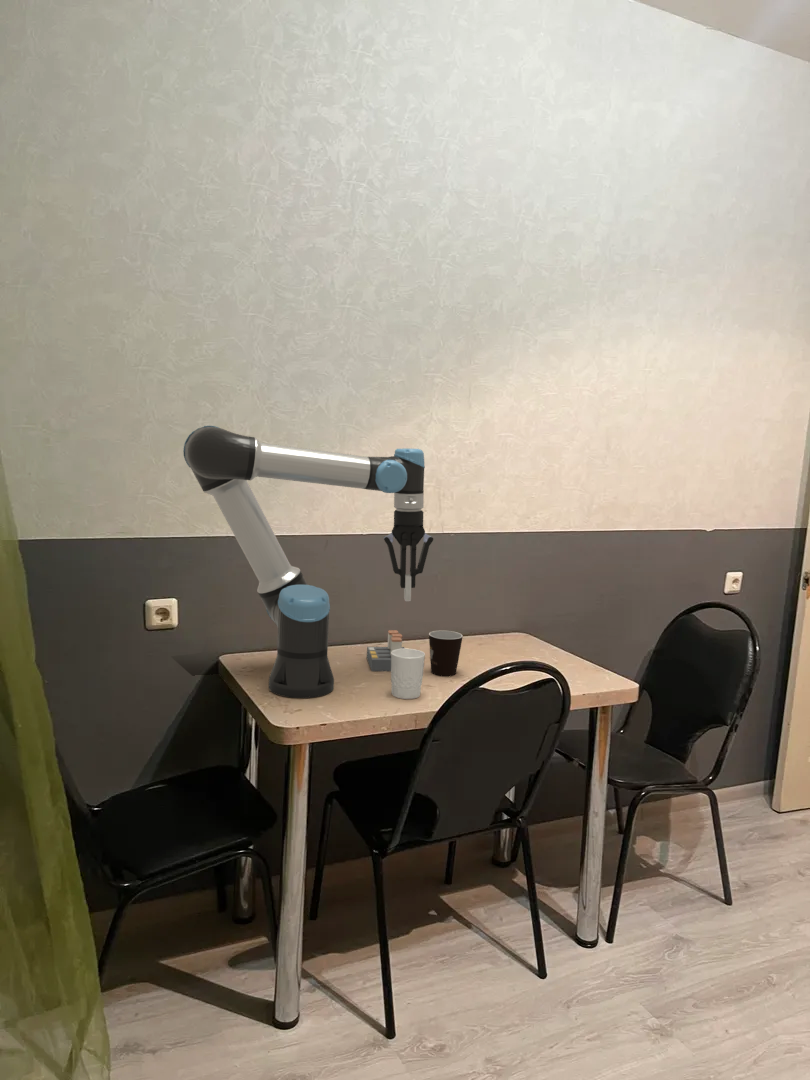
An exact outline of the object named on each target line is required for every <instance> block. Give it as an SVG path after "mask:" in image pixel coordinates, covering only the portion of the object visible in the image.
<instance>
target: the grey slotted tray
mask: <svg viewBox="0 0 810 1080" xmlns="http://www.w3.org/2000/svg"><path fill="white" fill-rule="evenodd" d="M403 648H405V646H402V649H403ZM366 659H367V662H368V665H369V668H370V670H371V672H391V655H390V649H388V647H387V646H366Z"/></svg>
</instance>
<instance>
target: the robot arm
mask: <svg viewBox="0 0 810 1080" xmlns="http://www.w3.org/2000/svg"><path fill="white" fill-rule="evenodd" d="M183 457H184V460H185V462H186V465H187V466H188V467H189V468H190V470H191V472H192V473H193V474H194V477H195V479H196V480H197V483H198V484H199V486H200V488H201V490H202V492H203V493H205V494H208V495H212V497H213V498H214V500H215V501H216V503H217V505H218V507H219V509H220V512H221V513H222V515H223V517H224V519H225V521H226V523H227V524H228V526H229V527H230V530H231V531H232V534H233V535H234V538H235V539H236V541H237V543H238V545H239V546H240V548H241V551H242V552H243V554H244V556H245V558H246V560H247V561H248V563H249V565H250V567H251V569H252V570H253V573H254V575H255V577H256V579H257V580H258V586H257V589H256V591H257V593H258V595H259V597H260V599H261V601H262V603H263V605H264V607H265V609H266V610H265V611H266V612H267V613H266V614H267V615H268V617H269V618H270V620H271V621H273V623H274V624H275V625H276V627H277V648H276V649H277V650H276V652H277V654H276V658H275V660H274V663H273V666H272V668H271V671H270V674H269V676H268V677H269V678H268V690H269V691H270V692H272V693H273V694H275V695H279V696H281V697H287V698H294V699H308V698H309V699H310V698H317V697H322V696H327V695H329V694H330V693H331V692H333V690H334V687H335V686H334V684H335V679H334V675H333V671H332V668H331V664H330V662H329V661H330V660H329V657H328V647H329V645H328V644H329V628H330V627H329V623H330V621H329V619H330V611H331V604H330V596H329V593H328V592H327V591H326V590H325V589H323V588H321V587H318V586H317V587H316V586H315V585H311V584H310V585H309V584H308V582H307V581H306V578H305V577H304V575H303V573H302V571H301V569H300V568H299V567H298V566H293V565H291V563H290V562H289V560H288V557H287V556H286V553H285V551H284V549H283V548H282V546H281V544H280V543H279V539H278V538H277V536H276V534H275V532H274V531H273V528H272V526H271V525H270V523H269V521H268V519H267V517H266V516H265V515H266V514H265V513H264V511H263V509H262V508H261V506H260V504H259V501H258V500H257V498H256V496H255V494H254V492H253V490H252V488H251V486H250V485H249V481H252V480H254V479H255V478H265V479H266V478H267V479H276V480H282V481H292V482H300V483H310V484H317V485H319V484H320V485H326V486H334V487H343V488H344V487H345V488H355V489H362V490H368V491H376V492H383V493H384V494H393V495H394V496H393V507H394V508H395V510H394V511H393V527H392V529H391V532H390V533H389V534H387V535H384V536H383V537H382V539H383V541H384V542H385V544H386V545H387V549H388V550H387V551H388V554H389V558H390V562H391V567H392V571H393V573H394V574H395V575H396V574H397V575H398V576H399V586H400V588H401V589H403V599H404V601H405V602H412V589H415V588H416V576H417V575H419V574H423V572H424V569H425V568H424V567H425V563H426V560H427V556H428V552H429V549H430V546H431V544H432V543H433V541H434V537H432V536H431V535H429V534H427V533H426V530H425V528H424V511H423V508H425V507H424V506H425V505H424V503H425V501H424V500H425V499H424V490H425V489H424V488H425V487H424V485H425V453H424V451H423V450H422V449H420V448H404V447H403V448H396V449H395V451H394V454H393V456H362V455H355V454H349V453H341V452H333V451H325V450H318V449H310V448H303V447H296V446H288V445H279V444H273V443H264V442H260V441H259V439H257V437H255V436H247V435H243V434H240V433H235V432H232V431H230V430H226V429H224V428H222V427H219V426H215V425H204V426H200V427H199V428H197V429H194V430H193V431H192V432H191V433H190V434H189V435H188V436H187V438H186V439H185V441H184V444H183ZM422 538H423V539H422ZM394 539H395V540H396V541H397V543H398V544H399V546H400V547H399V548H400V550H399V552H400V553H399V554H400V555H399V558H400V559H399V567H398V563H397V558H396V553H395V548H394V545H393V542H394ZM421 540H423V544H422V547H421V551H420V556H419V559H418V563H417V545H419V543H420V542H421ZM408 546H409V549H410V550H409V553H410V554H409V574H406V572H407V569H406V568H407V547H408Z"/></svg>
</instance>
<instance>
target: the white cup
mask: <svg viewBox="0 0 810 1080" xmlns="http://www.w3.org/2000/svg"><path fill="white" fill-rule="evenodd" d="M425 656H426V653H425V652H424V651H423V650H419V649H415V648H406V647H404V648H403V649H396V650H393V651H392V652H391V671H390V683H391V687H390V688H391V695H392V696H393V697H394V698H398V699H403V700H414V699H417V698H419V697H421V689H422V685H423V676H424V668H425Z"/></svg>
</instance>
